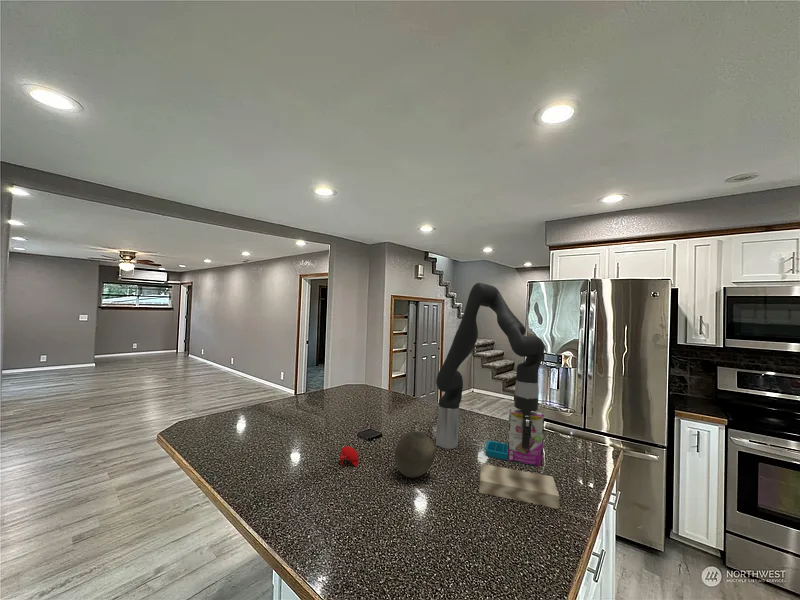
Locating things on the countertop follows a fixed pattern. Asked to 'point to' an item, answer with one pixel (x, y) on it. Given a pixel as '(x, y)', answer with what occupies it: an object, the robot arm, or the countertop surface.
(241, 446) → the countertop surface
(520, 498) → the birch stand
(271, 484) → the countertop surface
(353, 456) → the cap
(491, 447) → the ice cube tray
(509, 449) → the candy bar box
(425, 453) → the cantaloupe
